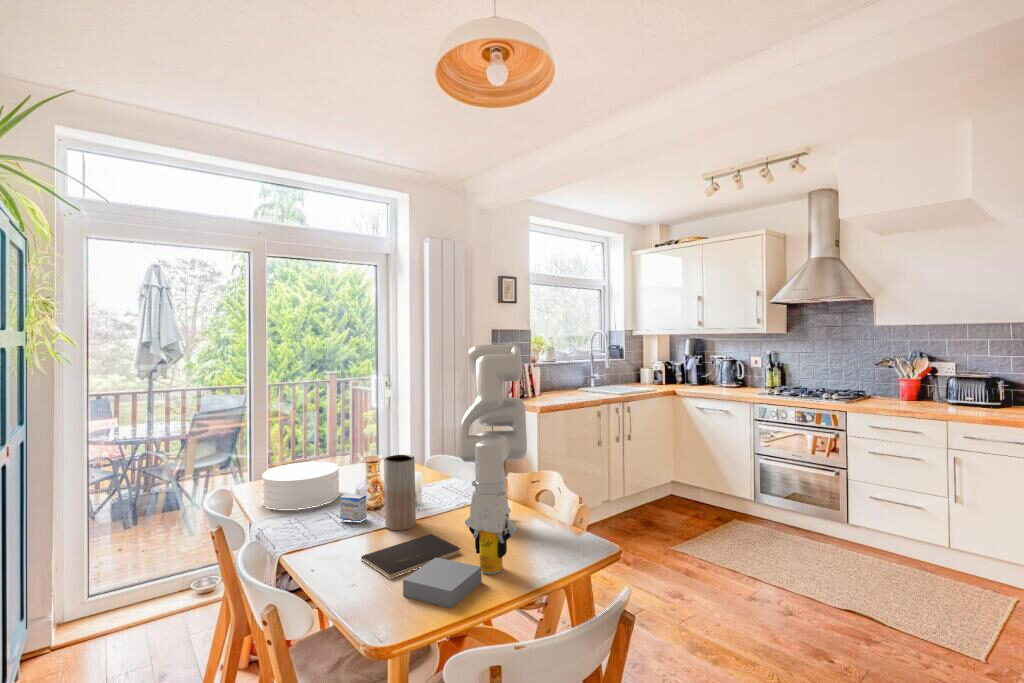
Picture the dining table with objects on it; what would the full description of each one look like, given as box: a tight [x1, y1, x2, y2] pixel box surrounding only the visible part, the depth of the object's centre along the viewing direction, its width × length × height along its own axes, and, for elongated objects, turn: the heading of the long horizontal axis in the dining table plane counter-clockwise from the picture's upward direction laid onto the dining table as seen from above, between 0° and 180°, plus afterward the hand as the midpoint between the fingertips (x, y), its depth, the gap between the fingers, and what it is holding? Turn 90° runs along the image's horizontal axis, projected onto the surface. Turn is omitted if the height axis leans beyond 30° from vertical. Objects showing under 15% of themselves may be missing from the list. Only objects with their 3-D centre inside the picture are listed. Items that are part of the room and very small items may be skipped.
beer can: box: [479, 520, 503, 576], centre depth 140 cm, size 6×6×15 cm
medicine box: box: [339, 493, 368, 521], centre depth 181 cm, size 8×4×9 cm, turn 76°
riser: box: [402, 557, 483, 609], centre depth 131 cm, size 14×14×4 cm
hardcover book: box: [361, 533, 461, 579], centre depth 150 cm, size 16×23×2 cm
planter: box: [383, 454, 417, 531], centre depth 175 cm, size 10×10×23 cm
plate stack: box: [261, 461, 340, 509], centre depth 206 cm, size 28×28×12 cm
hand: (490, 553), depth 140 cm, fingers closed on beer can, 6 cm apart
